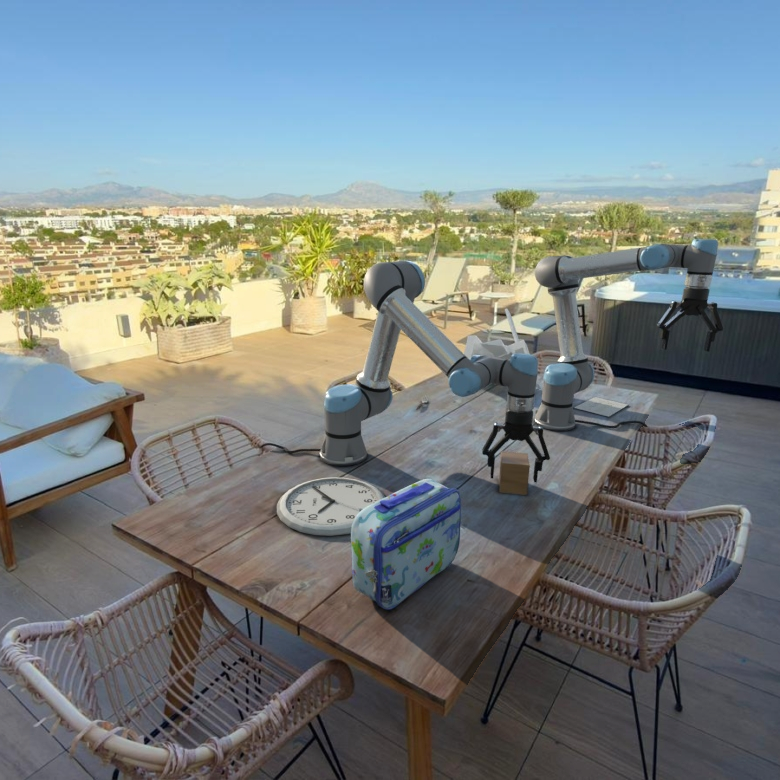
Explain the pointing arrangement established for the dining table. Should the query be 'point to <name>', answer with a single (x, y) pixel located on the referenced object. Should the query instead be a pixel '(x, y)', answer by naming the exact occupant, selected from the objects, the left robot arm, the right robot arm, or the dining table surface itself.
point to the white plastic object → (497, 346)
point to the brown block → (514, 473)
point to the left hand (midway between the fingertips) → (513, 478)
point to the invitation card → (601, 406)
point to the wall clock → (326, 505)
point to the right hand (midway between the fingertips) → (685, 349)
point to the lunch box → (405, 541)
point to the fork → (423, 402)
